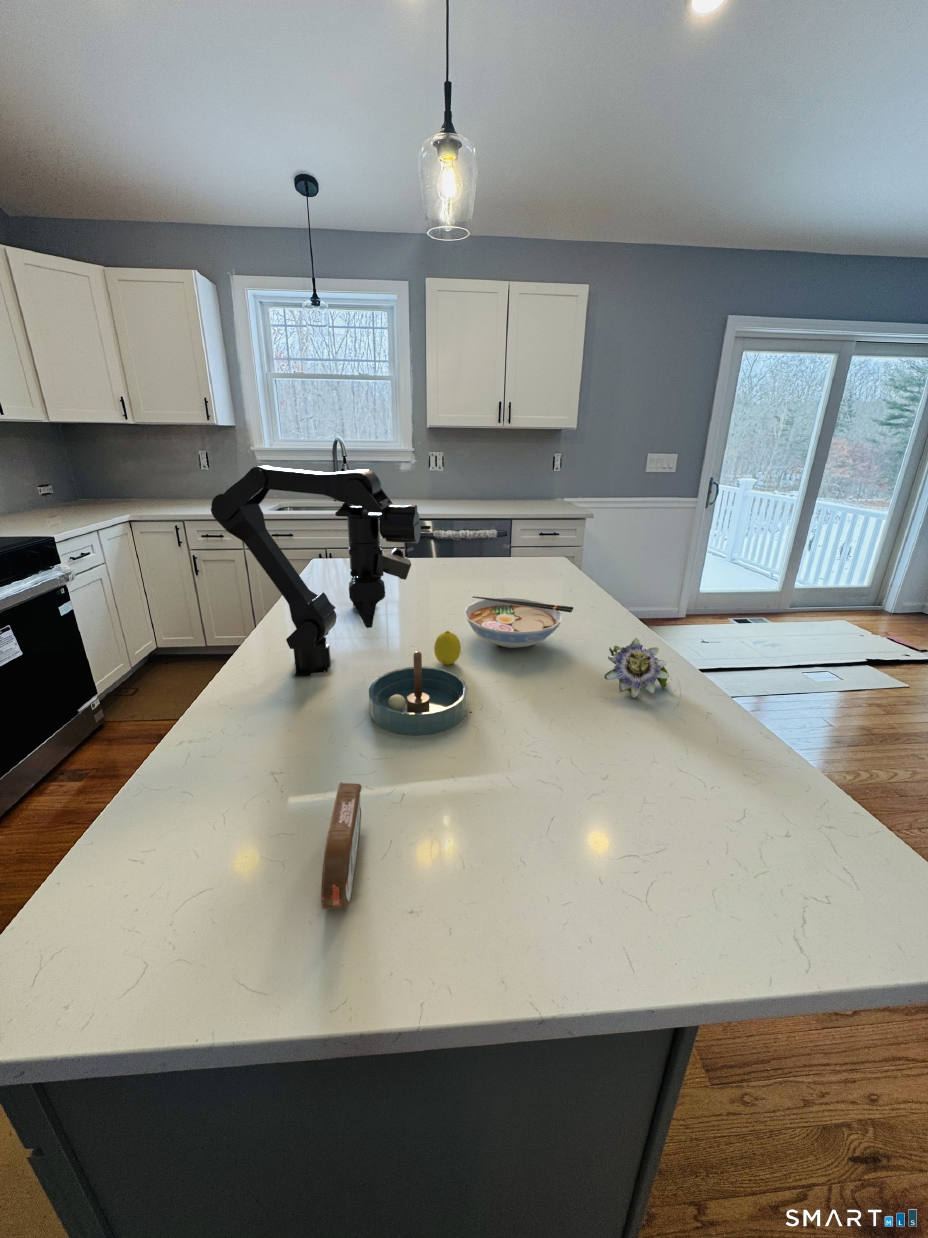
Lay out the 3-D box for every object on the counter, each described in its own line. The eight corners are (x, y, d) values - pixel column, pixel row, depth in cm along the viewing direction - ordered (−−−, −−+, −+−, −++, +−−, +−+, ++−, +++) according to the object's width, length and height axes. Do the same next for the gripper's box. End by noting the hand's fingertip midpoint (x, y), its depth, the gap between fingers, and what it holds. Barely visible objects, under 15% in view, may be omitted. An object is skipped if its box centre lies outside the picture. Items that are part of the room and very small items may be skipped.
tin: (341, 821, 65) (337, 767, 62) (366, 820, 66) (363, 766, 63) (321, 929, 52) (314, 867, 48) (352, 927, 52) (347, 865, 49)
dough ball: (409, 705, 88) (400, 717, 89) (407, 694, 91) (398, 706, 92) (395, 699, 87) (385, 711, 88) (393, 688, 89) (384, 700, 90)
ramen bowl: (443, 651, 115) (443, 617, 112) (478, 618, 135) (479, 589, 132) (552, 672, 106) (555, 636, 103) (572, 633, 126) (576, 602, 123)
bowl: (371, 743, 82) (369, 718, 80) (369, 691, 97) (367, 670, 96) (475, 733, 85) (476, 709, 83) (457, 684, 100) (457, 663, 99)
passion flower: (629, 720, 99) (603, 680, 94) (616, 684, 108) (591, 646, 103) (685, 695, 96) (660, 652, 91) (666, 661, 105) (642, 620, 100)
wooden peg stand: (408, 714, 89) (406, 657, 85) (406, 702, 92) (404, 647, 88) (430, 712, 89) (430, 655, 85) (428, 700, 93) (427, 646, 89)
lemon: (457, 672, 105) (457, 637, 102) (431, 670, 106) (431, 634, 103) (462, 661, 110) (463, 627, 107) (437, 658, 111) (437, 625, 108)
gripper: (412, 551, 87) (414, 634, 93) (403, 529, 104) (405, 601, 110) (346, 552, 85) (352, 638, 91) (348, 531, 102) (352, 604, 108)
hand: (368, 618), depth 100 cm, fingers open, 9 cm apart
